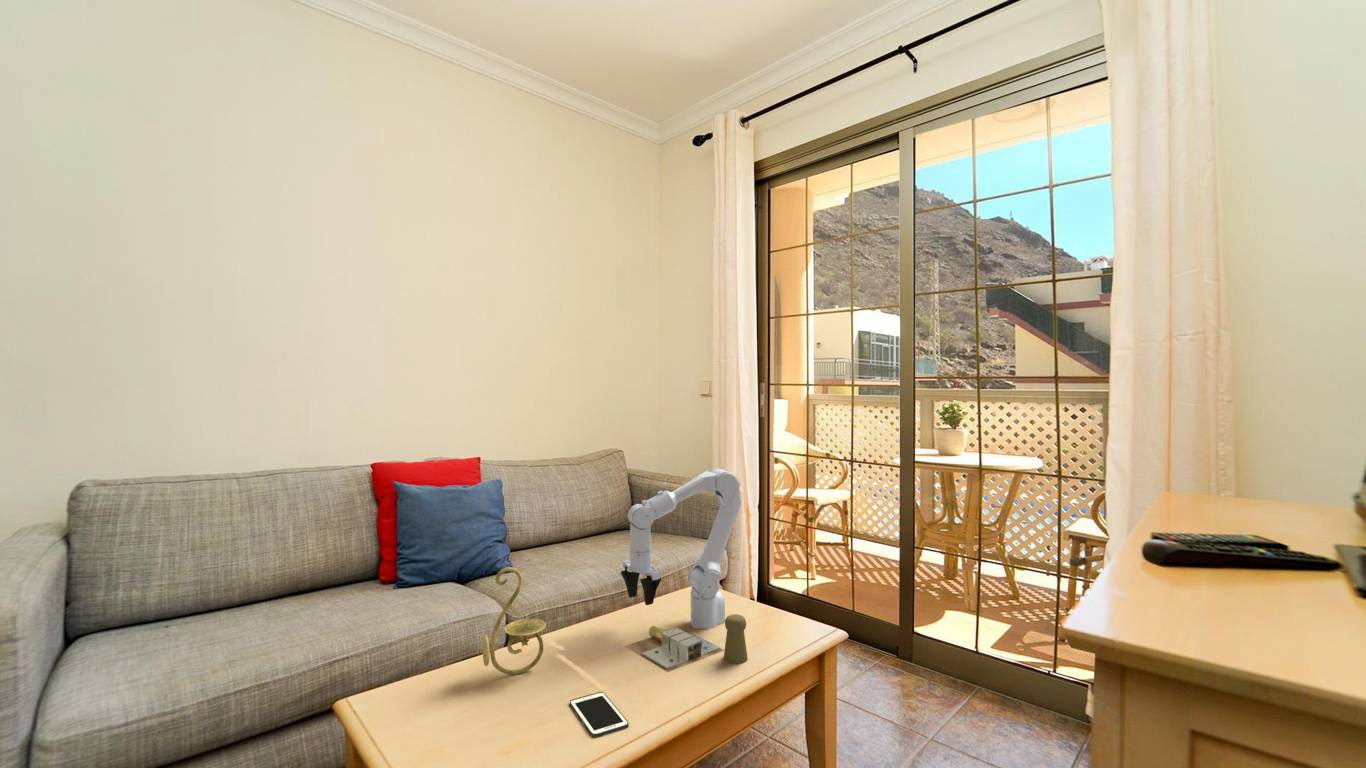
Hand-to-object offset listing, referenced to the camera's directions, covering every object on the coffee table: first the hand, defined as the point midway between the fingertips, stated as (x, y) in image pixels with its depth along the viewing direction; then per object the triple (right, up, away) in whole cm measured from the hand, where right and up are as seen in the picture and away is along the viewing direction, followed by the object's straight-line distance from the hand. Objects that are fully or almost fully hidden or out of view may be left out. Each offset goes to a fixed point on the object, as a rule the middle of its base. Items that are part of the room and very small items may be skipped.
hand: (640, 600), depth 158 cm
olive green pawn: (+24, -9, -16) cm, 30 cm away
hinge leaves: (+11, -8, -12) cm, 19 cm away
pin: (+7, -8, -7) cm, 13 cm away
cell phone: (-6, -9, -39) cm, 41 cm away
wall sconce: (-28, -9, -22) cm, 36 cm away
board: (+9, -9, -10) cm, 16 cm away
